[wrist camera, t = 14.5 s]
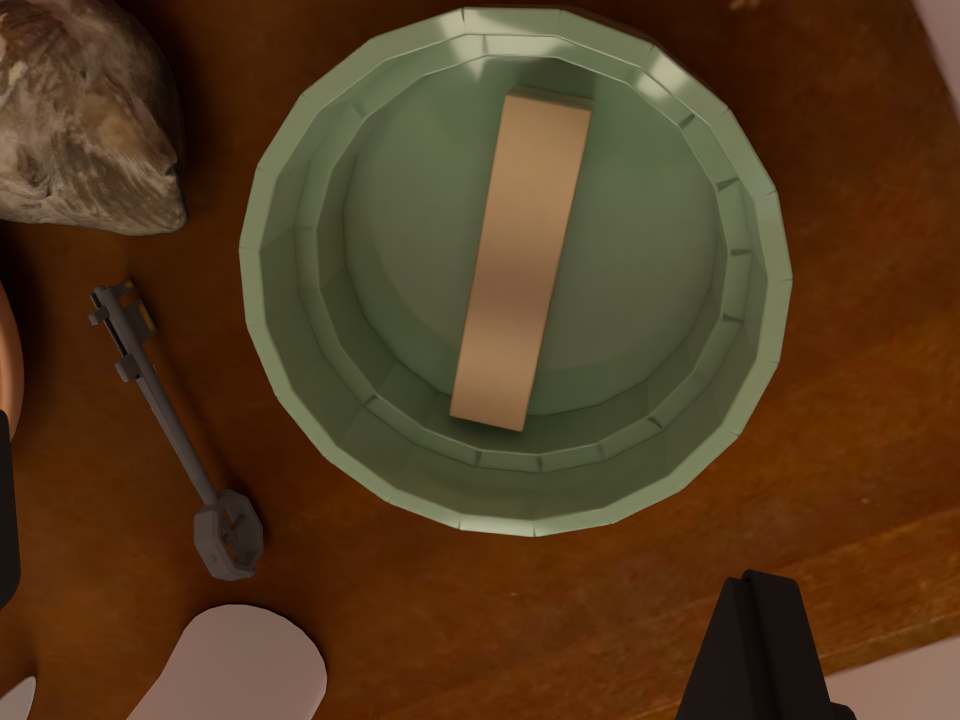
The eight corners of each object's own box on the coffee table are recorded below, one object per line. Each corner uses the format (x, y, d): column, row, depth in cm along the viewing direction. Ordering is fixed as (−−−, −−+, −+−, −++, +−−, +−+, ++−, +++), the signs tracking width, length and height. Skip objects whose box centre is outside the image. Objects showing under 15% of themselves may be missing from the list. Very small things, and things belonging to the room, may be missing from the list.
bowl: (596, -107, 24) (588, -135, 18) (839, 308, 27) (893, 388, 22) (227, 179, 29) (135, 224, 23) (474, 501, 32) (443, 606, 27)
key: (279, 546, 34) (246, 600, 31) (257, 551, 35) (222, 605, 31) (136, 266, 30) (82, 297, 27) (112, 274, 31) (57, 306, 28)
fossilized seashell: (263, 179, 26) (100, -148, 25) (46, 251, 22) (-166, -141, 20) (170, 252, 32) (33, -12, 30) (-16, 320, 27) (-185, 17, 26)
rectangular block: (515, 83, 26) (504, 92, 23) (595, 99, 25) (592, 110, 23) (460, 385, 30) (447, 416, 27) (529, 400, 29) (522, 433, 27)
